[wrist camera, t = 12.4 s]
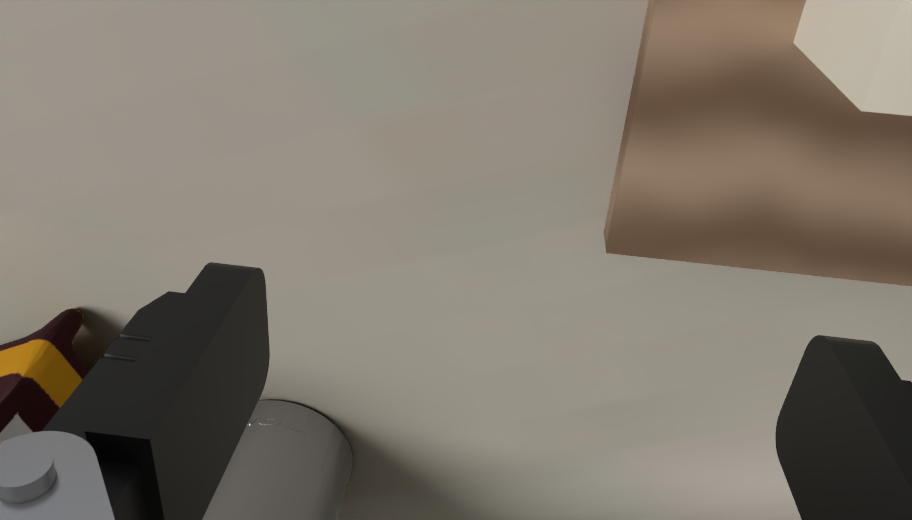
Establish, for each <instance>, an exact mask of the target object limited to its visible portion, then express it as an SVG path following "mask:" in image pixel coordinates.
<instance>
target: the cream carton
mask: <svg viewBox="0 0 912 520" xmlns="http://www.w3.org/2000/svg"><path fill="white" fill-rule="evenodd" d="M793 43H794V44H795V45H796V46H797V47H798V48H799V49H800V50H801V51H802V52H803V53H804V54H805V55H806V56H807V57H808V58H809V59H810V60H811V61H812V62H813V63H814V64H815V65H816V66H817V67H818V68H819V69H820V70H821V71H822V72H823V73H824V74H825V75H826V76H827V77H828V78H829V79H830V80H831V81H832V82H833V83H834V84H835V85H836V86H837V88H838V89H839V90H840V91H841V92H842V93H843V94H844V95H845V96H846V97H847V98H848V99H849V100H850V101H851V102H852V103H853V104H854V105H855V106H856V107H857V108H858V109H859V110H860V111H865V112H875V113H886V114H896V115H906V116H912V0H806V2H805V6H804V9H803V12H802V15H801V19H800V22H799V25H798V29H797V32H796V35H795V39H794V42H793Z"/></svg>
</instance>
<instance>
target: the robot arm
mask: <svg viewBox="0 0 912 520" xmlns="http://www.w3.org/2000/svg"><path fill="white" fill-rule="evenodd" d="M269 354H270V353H269V334H268V318H267V301H266V285H265V277H264V273H263V271H262V270H261V269H260V268H254V267H246V266H237V265H229V264H220V263H212V262H211V263H208V264H207V265H206V266H205V267H204V268H203V270H202V271H201V272H200V274H199V275H198V276H197V278H196V279H195V281H194V282H193V283H192V285H191V286H190V287H189V289H188V290H187V291H186V293H178V292H170V291H169V292H167V293H165V294H164V295H162V296H161V297H159V298H157V299H156V300H154V301H152V302H151V303H149V304H148V305H146V306H144V307H143V308H141V309H139V310H138V311H137V313H136V314H135V315H134V316H133V318H132V319H131V320H130V321H129V323H128V324H127V325H126V326H125V328H124V329H123V330H122V331H121V333H120V337H119V338H116V339H115V340H114V341H113V343H112V344H111V345H110V346H109V348H108V349H107V350H106V351H105V353H104V358H100V359H99V360H98V361H97V363H96V364H95V365H94V366H93V368H92V369H91V370H90V371H89V373H88V374H87V375H86V376H85V378H84V379H83V380H82V381H81V383H80V384H79V385H78V386H77V388H76V389H75V390H74V391H73V393H72V394H71V395H70V396H69V398H68V399H67V400H66V401H65V403H64V404H63V405H62V406H61V408H60V409H59V410H58V411H57V413H56V414H55V415H54V416H53V418H52V419H51V420H50V421H49V423H48V424H47V425H46V426H45V428H44V429H43V430H42V431H40V432H33V433H28V434H24V435H19V436H16V437H13V438H10V439H7V440H5V441H3V442H1V443H0V520H337V519H338V516H339V512H340V509H341V505H342V502H343V498H344V495H345V492H346V488H347V485H348V481H349V478H350V474H351V471H352V467H353V455H352V452H351V448H350V445H349V443H348V442H347V440H346V438H345V436H344V435H343V434H342V433H341V431H340V430H339V429H338V428H337V427H336V426H335V425H334V424H333V423H331V422H330V421H329V420H328V419H326V418H325V417H324V416H322V415H320V414H318V413H317V412H315V411H313V410H311V409H309V408H306V407H303V406H301V405H298V404H295V403H290V402H285V401H277V400H263V401H258V400H259V398H260V396H261V394H262V391H263V389H264V386H265V382H266V378H267V373H268V367H269ZM776 449H777V454H778V458H779V461H780V464H781V466H782V469H783V471H784V474H785V477H786V479H787V482H788V485H789V487H790V490H791V492H792V495H793V498H794V500H795V503H796V505H797V508H798V511H799V513H800V516H801V519H802V520H912V382H911V381H905V380H901V379H900V377H899V376H898V374H897V373H896V371H895V370H894V368H893V366H892V365H891V363H890V362H889V360H888V359H887V357H886V356H885V354H884V353H883V351H882V350H881V348H880V347H879V346H878V345H877V344H876V343H874V342H872V341H864V340H856V339H847V338H839V337H830V336H822V335H818V336H815V337H814V338H813V339H812V340H811V341H810V342H809V344H808V345H807V347H806V350H805V352H804V355H803V357H802V359H801V362H800V364H799V367H798V369H797V372H796V374H795V377H794V379H793V382H792V384H791V386H790V389H789V391H788V394H787V396H786V399H785V401H784V404H783V406H782V409H781V411H780V414H779V417H778V421H777V426H776Z"/></svg>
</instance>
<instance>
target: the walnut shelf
mask: <svg viewBox="0 0 912 520" xmlns="http://www.w3.org/2000/svg"><path fill="white" fill-rule="evenodd" d="M805 2H806V0H649V3H648V8H647V13H646V18H645V23H644V28H643V34H642V39H641V44H640V49H639V54H638V60H637V65H636V70H635V75H634V80H633V85H632V91H631V96H630V101H629V106H628V111H627V116H626V122H625V127H624V132H623V137H622V142H621V148H620V153H619V158H618V163H617V168H616V173H615V179H614V184H613V189H612V194H611V199H610V204H609V210H608V215H607V220H606V225H605V230H604V237H605V246H606V253H612V254H621V255H630V256H640V257H649V258H658V259H667V260H676V261H686V262H695V263H704V264H713V265H722V266H732V267H741V268H750V269H759V270H768V271H777V272H787V273H796V274H805V275H814V276H823V277H833V278H842V279H851V280H860V281H869V282H879V283H888V284H897V285H906V286H912V116H906V115H896V114H886V113H875V112H865V111H860V110H859V109H858V108H857V107H856V106H855V105H854V104H853V103H852V102H851V101H850V100H849V99H848V98H847V97H846V96H845V95H844V94H843V93H842V92H841V91H840V90H839V89H838V88H837V86H836V85H835V84H834V83H833V82H832V81H831V80H830V79H829V78H828V77H827V76H826V75H825V74H824V73H823V72H822V71H821V70H820V69H819V68H818V67H817V66H816V65H815V64H814V63H813V62H812V61H811V60H810V59H809V58H808V57H807V56H806V55H805V54H804V53H803V52H802V51H801V50H800V49H799V48H798V47H797V46H796V45H795V44H794V43H793V42H794V39H795V35H796V32H797V29H798V25H799V22H800V19H801V15H802V12H803V9H804V6H805Z"/></svg>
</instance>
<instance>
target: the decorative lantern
mask: <svg viewBox="0 0 912 520" xmlns="http://www.w3.org/2000/svg"><path fill="white" fill-rule="evenodd" d="M83 317H84V315H83V314H82V313H81V312H80V311H79V310H78V309H68V310H65V311H63V312H62V313H60V314H59V315H58V316H57V317H55V318H54V319H53V320H52V321H50V322H49V323H48V324H47V325H45V326H44V327H43V328H42V329H40V330H38V331H36V332H34V333H32V334H31V335H29V336H27V337H25V338H22V339H19V340H16V341H13V342H9V343H6V344H3V345H0V443H1V442H3V441H5V440H7V439H10V438H13V437H16V436H19V435H24V434H28V433H33V432H40V431H42V430H43V429H44V428H45V426H46V425H47V424H48V423H49V421H50V420H51V419H52V418H53V416H54V415H55V414H56V413H57V411H58V410H59V409H60V408H61V406H62V405H63V404H64V403H65V401H66V400H67V399H68V398H69V396H70V395H71V394H72V393H73V391H74V390H75V389H76V388H77V386H78V385H79V384H80V383H81V381H82V380H83V379H84V378H85V376H86V375H87V374H88V373H89V372H88V371H87V369H86V368H85V367H84V366H83V365H82V363H81V362H80V361H79V359H78V357H77V356H76V354H75V352H74V350H73V341H74V338H75V336H76V334H77V332H78V330H79V329H80V327H81V325H82V323H83Z"/></svg>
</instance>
